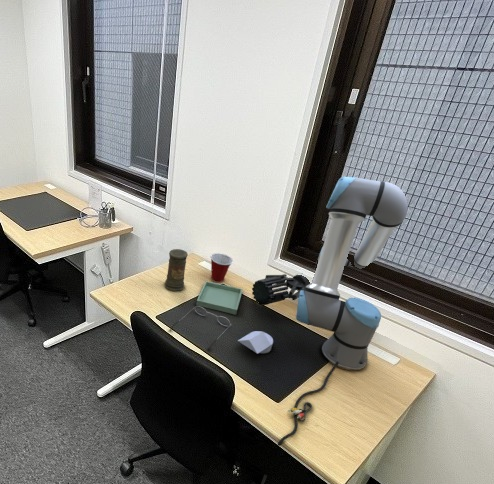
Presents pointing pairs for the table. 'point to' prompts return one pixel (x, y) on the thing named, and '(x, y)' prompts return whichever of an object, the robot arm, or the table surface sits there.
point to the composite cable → (301, 411)
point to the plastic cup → (220, 266)
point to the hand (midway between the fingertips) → (265, 290)
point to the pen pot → (268, 290)
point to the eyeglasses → (205, 315)
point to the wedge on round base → (257, 342)
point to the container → (176, 270)
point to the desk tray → (219, 297)
